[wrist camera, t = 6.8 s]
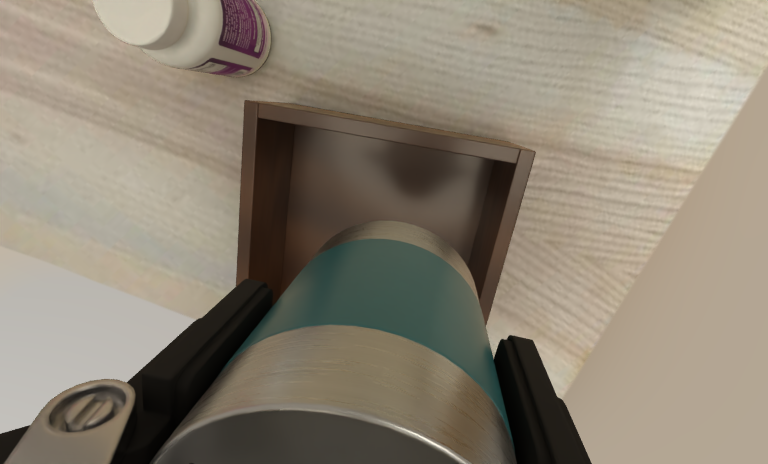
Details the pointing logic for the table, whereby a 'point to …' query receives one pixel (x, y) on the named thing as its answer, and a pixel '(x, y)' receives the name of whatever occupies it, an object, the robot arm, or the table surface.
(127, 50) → the table surface
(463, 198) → the chest
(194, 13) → the pill bottle
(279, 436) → the can
